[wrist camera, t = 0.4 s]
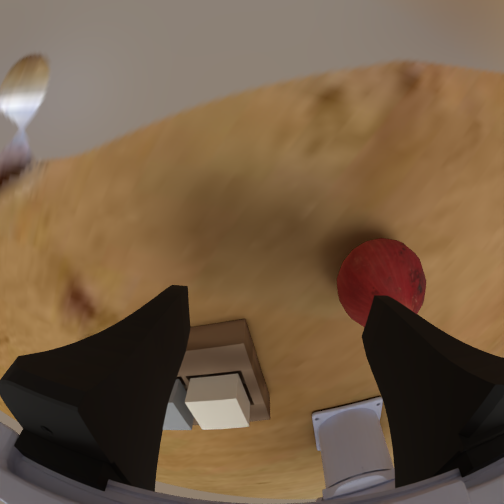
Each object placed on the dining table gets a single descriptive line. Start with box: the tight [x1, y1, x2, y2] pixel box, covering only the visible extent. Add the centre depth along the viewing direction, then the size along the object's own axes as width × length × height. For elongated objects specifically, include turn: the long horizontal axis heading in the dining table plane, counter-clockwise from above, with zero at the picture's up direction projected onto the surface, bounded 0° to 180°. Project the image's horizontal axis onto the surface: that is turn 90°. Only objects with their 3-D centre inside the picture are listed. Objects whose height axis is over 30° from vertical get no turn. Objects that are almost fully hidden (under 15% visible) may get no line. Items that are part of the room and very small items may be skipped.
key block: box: [176, 319, 270, 425], centre depth 24 cm, size 10×16×3 cm, turn 103°
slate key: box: [163, 379, 194, 430], centre depth 22 cm, size 4×4×3 cm
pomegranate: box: [337, 238, 426, 327], centre depth 17 cm, size 6×6×8 cm
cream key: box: [185, 373, 250, 430], centre depth 21 cm, size 4×4×3 cm
